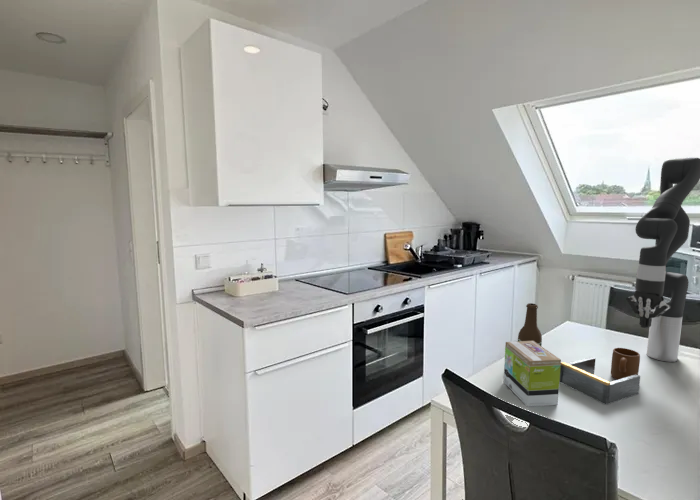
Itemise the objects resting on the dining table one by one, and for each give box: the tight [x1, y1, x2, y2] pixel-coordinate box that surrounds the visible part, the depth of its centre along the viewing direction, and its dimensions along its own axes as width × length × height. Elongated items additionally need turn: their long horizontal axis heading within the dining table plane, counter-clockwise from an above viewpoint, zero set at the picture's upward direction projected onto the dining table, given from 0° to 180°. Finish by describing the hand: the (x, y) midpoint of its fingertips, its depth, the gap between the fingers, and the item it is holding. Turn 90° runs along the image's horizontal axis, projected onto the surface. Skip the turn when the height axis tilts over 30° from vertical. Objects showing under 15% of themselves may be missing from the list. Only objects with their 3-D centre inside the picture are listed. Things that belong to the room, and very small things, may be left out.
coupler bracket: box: [559, 356, 641, 405], centre depth 123 cm, size 16×15×7 cm
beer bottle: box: [517, 303, 543, 346], centre depth 135 cm, size 8×8×24 cm
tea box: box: [503, 340, 562, 407], centre depth 118 cm, size 15×10×15 cm
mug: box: [610, 347, 641, 380], centre depth 128 cm, size 12×8×9 cm, turn 138°
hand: (644, 327), depth 129 cm, fingers closed
